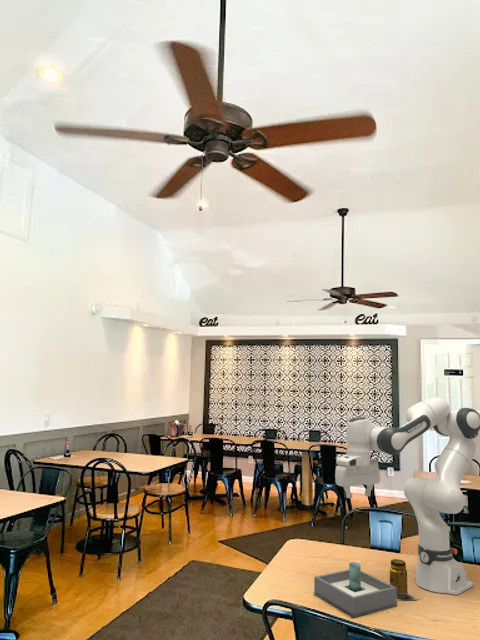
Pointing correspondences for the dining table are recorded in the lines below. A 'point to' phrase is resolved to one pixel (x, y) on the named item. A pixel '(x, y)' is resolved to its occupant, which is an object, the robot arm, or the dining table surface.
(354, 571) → the peg
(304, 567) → the dining table surface
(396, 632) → the dining table surface
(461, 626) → the dining table surface
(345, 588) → the socket box
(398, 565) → the condiment
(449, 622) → the dining table surface
